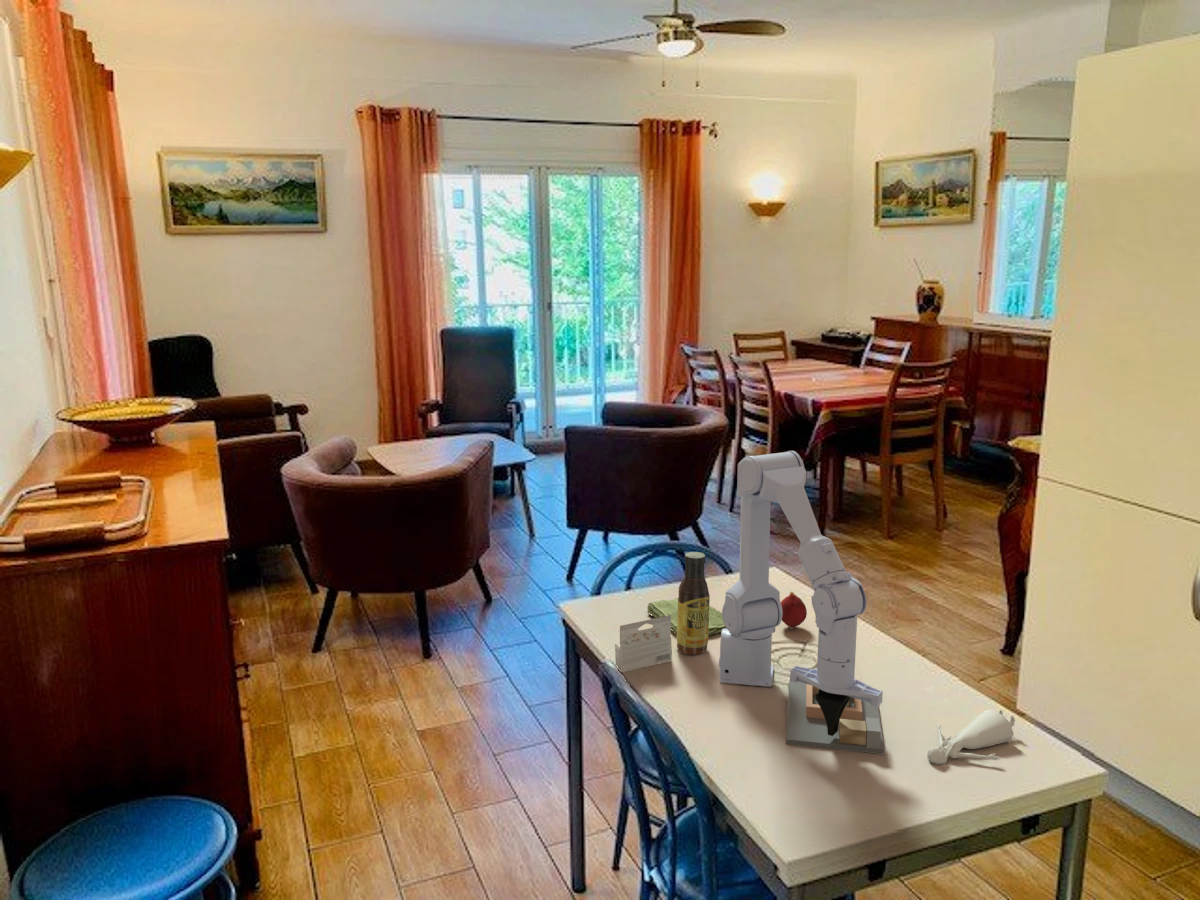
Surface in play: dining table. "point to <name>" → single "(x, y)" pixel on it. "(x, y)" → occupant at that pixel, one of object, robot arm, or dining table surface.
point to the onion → (793, 610)
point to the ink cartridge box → (644, 644)
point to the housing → (811, 725)
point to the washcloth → (671, 609)
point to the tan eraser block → (852, 731)
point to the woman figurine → (974, 737)
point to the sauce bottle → (693, 607)
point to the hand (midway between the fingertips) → (832, 732)
